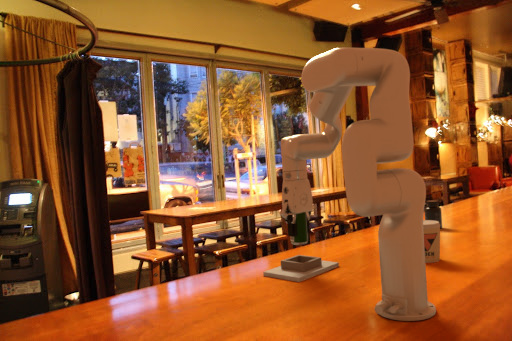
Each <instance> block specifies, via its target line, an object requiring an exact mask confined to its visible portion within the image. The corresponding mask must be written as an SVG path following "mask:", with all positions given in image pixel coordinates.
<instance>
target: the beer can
mask: <svg viewBox="0 0 512 341" xmlns="http://www.w3.org/2000/svg"><path fill="white" fill-rule="evenodd" d="M290 213H291V211H290ZM290 217H291V218H292V215H290ZM295 223H296V224H297V236H296V237H293V236H289V237H290V242H291V243H290V244H292V245H294V246H301V245H302V246H303V245H307V244H308V242H309V235H308V234H309V233H308V232H307V217H306V212H303V213H300V214H296V219H295Z"/></svg>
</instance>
